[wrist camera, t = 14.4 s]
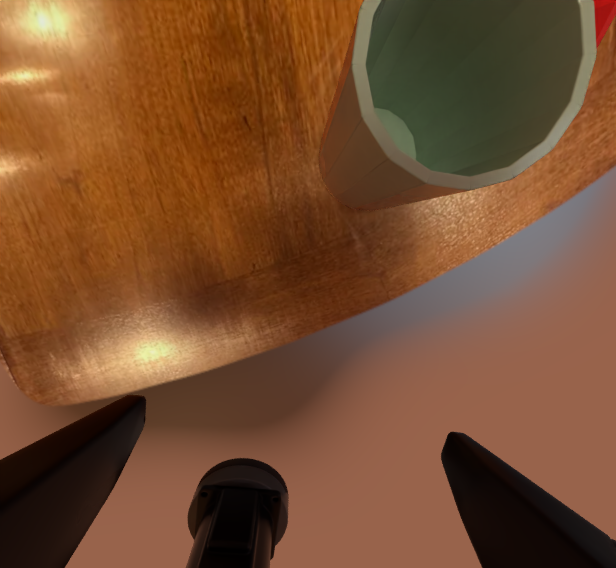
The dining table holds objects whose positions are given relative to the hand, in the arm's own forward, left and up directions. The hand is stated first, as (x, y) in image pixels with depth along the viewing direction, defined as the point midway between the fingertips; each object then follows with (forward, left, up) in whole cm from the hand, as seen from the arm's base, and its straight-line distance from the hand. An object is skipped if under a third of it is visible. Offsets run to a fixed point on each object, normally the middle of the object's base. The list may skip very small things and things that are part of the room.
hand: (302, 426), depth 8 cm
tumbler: (+11, -3, -13) cm, 18 cm away
